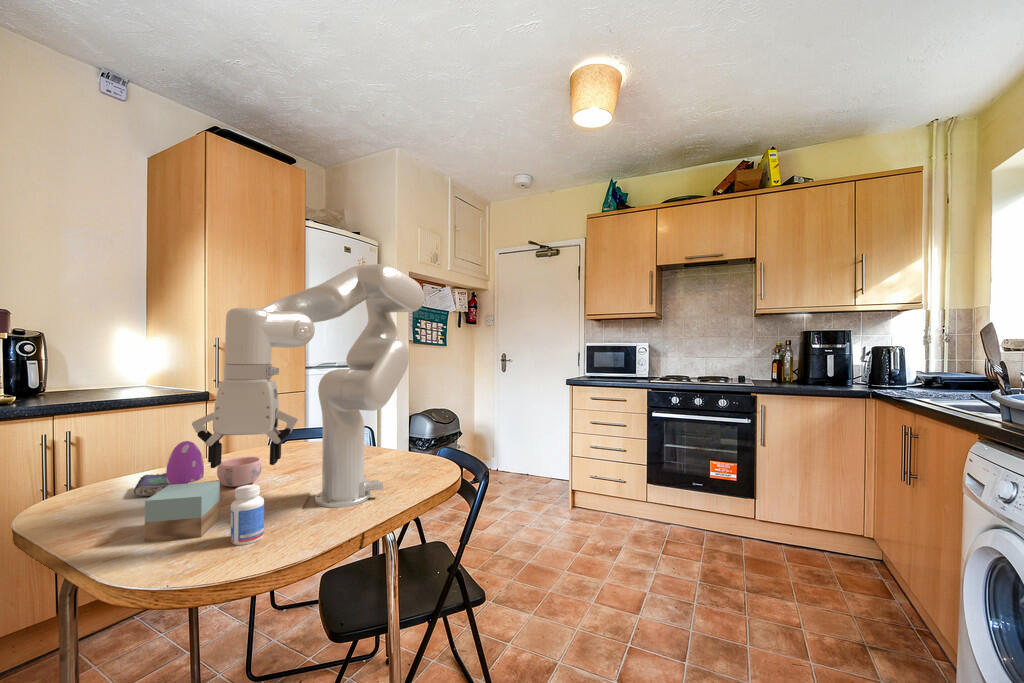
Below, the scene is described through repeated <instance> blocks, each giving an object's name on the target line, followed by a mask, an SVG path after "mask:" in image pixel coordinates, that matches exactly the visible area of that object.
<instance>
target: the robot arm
mask: <svg viewBox="0 0 1024 683" xmlns="http://www.w3.org/2000/svg"><path fill="white" fill-rule="evenodd" d="M364 301H365V305H366V311H367V317H368V318H367V320H368V321H367V324H366V325H365V327H364V328H363V330H362V332H361V333H360V335H359V336H358V338H356V340H355V341H354V343H353V345H351V348H350V349H349V351H348V352H347V355H346V359H345V360H346V365H347V368H348V369H347V368H339V369H333V370H330V371H328V372H326V373H325V374H324V375H323V376H322V377H321V378H320V381H319V383H318V387H317V389H318V391H317V394H318V398H319V404H320V408H321V410H320V411H321V416H322V418H321V419H322V420H321V421H322V451H321V452H322V455H321V456H322V465H321V466H322V467H321V468H322V469H321V471H322V472H321V473H322V476H321V481H322V485H321V491H320V492H318V493H317V494H316V495H315V497H314V503H315V504H316V505H317V506H320V507H324V508H329V507H330V508H331V509H332V508H333V509H334V508H335V509H337V508H348V506H349V507H353V505H354V506H357V505H360V504H363V503H364V501H365V502H366V501H368V499H370V497H371V491H382V490H384V489H383V488H384V481H379V480H378V479H374V480H369V479H367V474H366V475H365V434H366V432H365V429H366V428H365V421H364V419H363V415H362V413H361V411H370V412H372V411H374V412H375V411H379V410H381V409H382V408H384V407H385V406H386V405H387V404H388V402H389V401H390V399H392V396H393V394H394V392H395V390H396V389H397V387H398V385H399V384H400V383H401V380H402V378H403V377H404V375H405V374H406V371H407V369H408V366H409V361H410V352H409V348H408V347H407V345H406V343H404V341H402V340H400V339H398V338H397V336H398V328H397V325H396V323H395V321H394V319H393V316H392V314H391V313H413V312H416V311H418V310H420V309H422V307H423V305H424V303H425V293H424V290H423V287H422V285H420V283H419V282H417V280H415V279H414V278H411V277H410V276H409V275H407V274H406V273H404V272H402V271H400V270H399V269H397V268H395V267H394V266H391V265H389V264H387V263H386V264H383V263H377V264H374V263H373V264H360V265H355V266H351V267H349V268H347V269H345V270H344V271H342V272H340V273H338V274H336V275H335V276H333V277H331V278H329V279H328V280H326V281H324V282H322V283H320V284H318V285H315V286H311V287H309V288H306V289H304V290H301V291H298V292H295V293H292V294H290V295H287V296H284V297H282V298H278V299H277V300H274V301H273V302H269V303H268V304H266V305H265V306H262V307H261V308H252V307H235V308H230V309H229V310H228V311H227V313H226V316H225V338H224V339H225V341H224V367H223V368H224V372H223V373H224V374H223V379H224V380H221V381H220V382H219V384H218V389H217V391H216V397H215V400H214V401H215V402H214V409H213V412H212V413H209V414H207V415H205V416H202V417H200V418H198V419H197V420H194V421H192V423H191V426H192V428H193V429H194V431H195V433H197V437H198V438H199V439H200V440H202V441H203V443H204V444H205V446H207V447H208V449H207V450H208V453H207V462H208V464H209V463H210V469H215V468H218V465H220V464H221V462H222V454H223V453H222V452H223V449H222V448H223V443H221V442H220V440H221V439H223V437H225V436H247V435H249V436H251V435H266V436H267V437H268V438H269V439H270V440H271V443H270V445H269V465H270V466H275V465H276V464H277V462H278V461H279V460H281V457H282V441H283V440H284V439H285V438H286V437H288V435H289V434H291V433H292V431H293V430H294V428H295V426H296V425H297V423H298V418H296V417H295V416H292V415H291V414H288V413H286V412H283V411H281V410H280V409H279V407H280V406H279V394H278V387H277V382H276V380H273V379H271V378H273V376H277V375H279V374H280V368H279V367H274V366H273V364H272V348H283V349H284V348H285V349H286V348H287V349H288V348H289V349H290V348H291V349H295V348H301V347H303V346H305V345H307V344H309V342H310V341H312V339H313V338H314V335H315V329H316V328H315V324H314V323H319V322H326V321H329V320H333V319H337V318H340V317H341V316H343V315H345V314H346V313H348V312H349V311H351V310H352V309H353V308H355V307H356V306H358V305H359V304H362V303H363V302H364ZM280 421H281V422H282V421H283V422H285V423H286V425H285V428H284V429H283V430H282V431H281V432H280V431H279V430H278V427H279V423H280ZM210 422H212V431H213V433H211V432H210V431H209V430H207V429H206V424H207V423H210Z"/></svg>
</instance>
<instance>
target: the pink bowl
mask: <svg viewBox="0 0 1024 683" xmlns="http://www.w3.org/2000/svg"><path fill="white" fill-rule="evenodd" d="M216 468H217V469H216V475H217V478H218V481H220V484H222V486H225V487H241V486H245V485H251V484H252V483H254V482H256V481H257V480H258V479H259V477H260V476H261V473H262V469H263V462H262V459H261V458H260V457H258V456H237V457H233V458H228V459H225V460H221V464H220V465H218V466H217V467H216Z"/></svg>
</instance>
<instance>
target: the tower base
mask: <svg viewBox="0 0 1024 683" xmlns="http://www.w3.org/2000/svg"><path fill="white" fill-rule="evenodd" d="M220 501H221V500H219V501H218V502H217V503H216V504H215V505H214V506H213V507H212V508H211V509H210V510H209V511H208V512H207V513H206V514H205V515H203V516H202V517H201V518H189V519H178V520H167V521H156V522H145V521H144V542H154V541H155V542H156V541H158V542H159V541H169V540H171V541H173V540H183V539H195V538H202V537H203V536H204V535H205V534H207V532H208V531H210V529H211V528H212V527H213V526H214V525H215V524H216V523H217V522H219V520H220V512H221V511H220V509H221V508H220V507H221V506H220Z"/></svg>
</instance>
